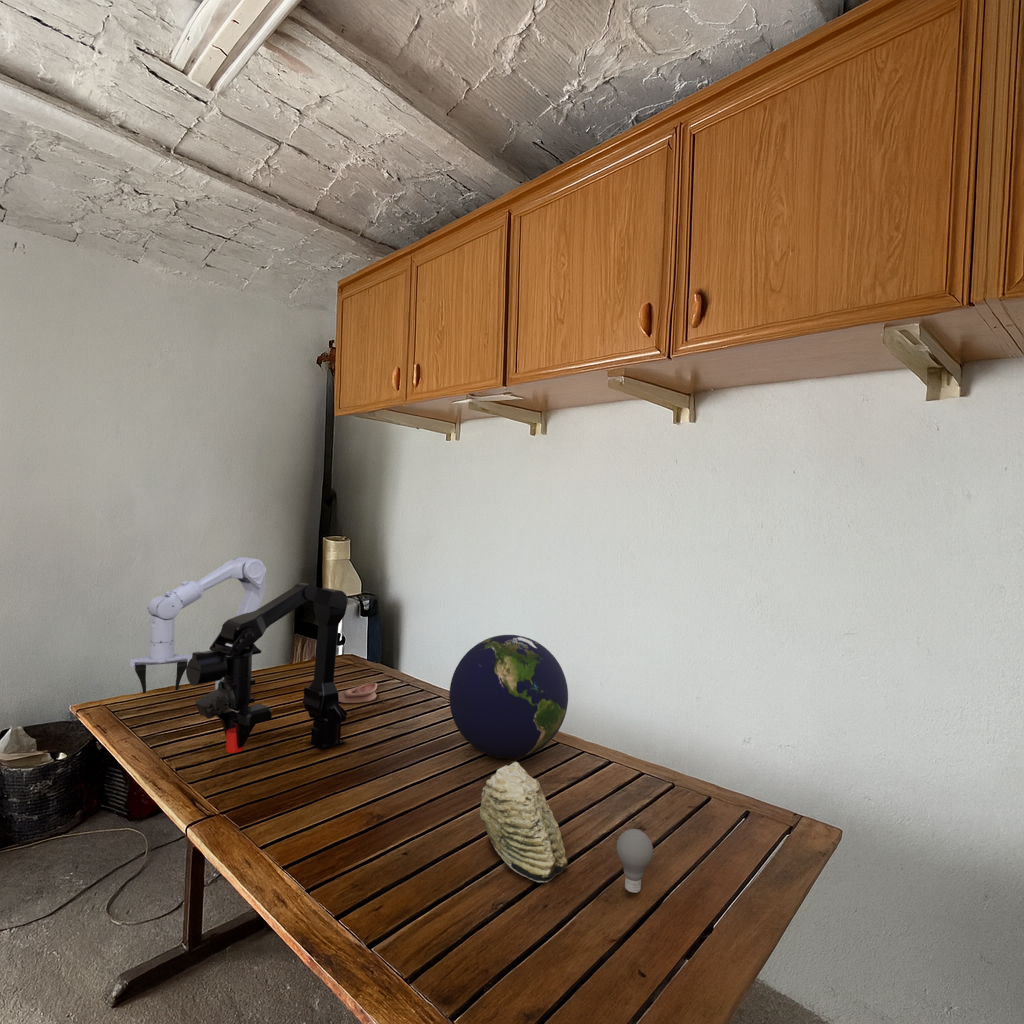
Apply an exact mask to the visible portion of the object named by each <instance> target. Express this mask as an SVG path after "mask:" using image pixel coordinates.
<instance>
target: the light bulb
mask: <svg viewBox="0 0 1024 1024" xmlns="http://www.w3.org/2000/svg"><path fill="white" fill-rule="evenodd" d="M615 849H616V854H617V857H618V859H619V861H620V863H621V865H622V867H623V873H624V874H623V875H624V876H625V878H624V888H625V890H627V891H628V892H630V893H634V894H635V893H639V892H640V891H641V889H642V887H641V886H642V879H643V877H644V875H645V871H646V868H647V867H648V866H649V864H650V863H651V861H652V859H653V855H654V847H653V843H652V841H651V838H649V836H648V835H647V834H646V833H645V832H643V831H642V830H641V829H636V828H629V829H627V830H625V831H623V832H622V833H621V834H620V835H619V837H618V839H617V841H616V847H615Z"/></svg>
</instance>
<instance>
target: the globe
mask: <svg viewBox="0 0 1024 1024" xmlns="http://www.w3.org/2000/svg"><path fill="white" fill-rule="evenodd" d="M449 684H450V685H449V694H448V697H449V700H448V701H449V708H450V712H451V713H450V714H451V716H452V719H453V722H454V724H455V726H456V728H457V730H458V731H459V733H460V735H461V736H462V737H463V738H464V739H465V741H467V743H468V744H470V745H471V746H472V747H473V748H475V749H476V750H477V751H480V752H481V753H483V754H485V755H488V756H491V757H493V758H498V759H507V760H508V759H509V760H511V759H521V758H525V757H527V756H530V755H533V754H534V753H537V752H538V751H540V750H541V749H543V748H544V747H546V746H547V745H548V744H549V743H550V742H551V741H552V740H553V738H555V736H556V735H557V734H558V732H559V731H560V728H561V727H562V725H563V723H564V720H565V719H566V715H567V711H568V705H569V689H568V687H569V686H568V683H567V679H566V674H565V673H564V670H563V668H562V666H561V664H560V663H559V661H558V660H557V658H556V657H555V655H554V654H552V652H551V651H550V650H549V649H548V648H547V647H545V646H544V645H542V644H541V643H539V642H538V641H536V640H534V639H532V638H530V637H526V636H523V635H517V634H501V635H494V636H491V637H488V638H486V639H483V640H482V641H480V642H478V643H476V644H475V645H474V646H473V647H471V648H470V649H469V650H468V651H467V652H466V653H465V654H464V655H463V657H461V659H460V660H459V662H458V663H457V666H456V667H455V669H454V671H453V673H452V678H451V681H450V683H449Z"/></svg>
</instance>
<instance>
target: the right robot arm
mask: <svg viewBox="0 0 1024 1024" xmlns="http://www.w3.org/2000/svg"><path fill="white" fill-rule="evenodd" d="M307 602H309V603H311V604H313V613H314V616H315V618H316V620H317V624H318V626H317V627H318V628H317V639H316V647H315V648H316V649H315V650H316V651H315V662H314V671H313V672H314V673H313V680H312V682H311V683H310V685H309V686H305V687H304V688H303V699H302V704H303V707H304V710H305V711H306V712H307V713H308V716H309V718H310V719H313V721H312V722H313V723H312V727H311V730H310V731H311V732H310V733H311V735H310V739H309V740H308V743H309V744H310V745H313V746H314V747H316V748H318V749H320V750H327V749H329V748H333V747H336V746H340V745H343V744H344V743H345V741H344V740H343V739H341V737H342V735H341V733H342V723H343V722H346V719H347V717H348V712H347V710H345V709H344V708H343V707H342V705H340V702H339V696H338V693H339V691H338V688H337V686H336V683H335V669H336V660H337V659H336V658H337V646H338V635H339V627H340V626H339V625H340V623H341V622H342V620H343V619H344V617H345V615H346V612H347V607H348V603H349V597H348V595H347V594H346V592H344V591H343V590H339V589H333V588H328V587H323V588H322V587H321V588H320V587H318V586H315V585H313V584H311V583H306V582H298V583H296V584H295V585H294V586H293V587H291V588H290V589H288V590H287V591H285V592H283V593H282V594H280V595H278V596H277V597H275V598H274V599H272V600H270V601H269V602H267V603H266V604H264V605H262V606H260V607H259V609H257V610H255V611H253V612H250V613H245V614H241V615H239V616H236V615H235V616H234V617H231V618H228V619H227V620H226V621H225V622H223V624H222V625H221V629H220V632H219V633H218V635H217V636H216V638H215V639H214V640H213V642H212V643H211V645H210V646H209V650H206V651H205V650H204V651H193V652H192V653H191V654H192V659H190V660H189V662H188V663H187V667H186V670H185V674H186V679H187V682H188V683H189V684H190V685H191V686H194V687H195V686H199V685H200V686H201V685H204V684H208V683H213V682H214V683H215V681H218V680H221V679H222V678H223V677H224V680H221V681H219V683H218V689H217V690H215V689H214V690H212V691H210V692H208V693H206V694H205V695H202V696H201V697H200V698H198V699H196V700H195V702H194V703H195V705H196V708H197V711H198V714H199V715H200V716H202V717H204V718H206V719H208V720H209V719H212V718H214V717H216V718H218V719H219V720H220V723H221V725H222V728H223V732H224V736H226V732H227V730H229V729H231V728H236V737H237V746H238V748H241V747H243V746H244V747H245V744H246V742H247V740H248V738H249V736H250V735H251V733H252V731H253V729H254V727H256V725H257V724H260V723H264V722H267V721H270V720H272V718H273V714H272V713H273V709H271V708H270V707H269V706H266V705H264V704H262V703H256V704H254V703H255V701H256V699H255V697H253V696H252V686H253V685H256V679H254V678H252V671H253V670H252V668H253V656H254V655H258V654H260V655H261V654H262V650H261V649H260V648H258V647H257V645H256V644H255V643H256V642H257V641H259V639H261V638H262V637H263V635H264V634H265V632H266V630H267V629H268V628H269V627H270V626H272V625H273V624H275V623H277V622H278V621H279V620H281V619H283V618H284V617H285V616H287V615H288V614H290V613H291V612H293V611H295V610H296V609H298V608H299V607H300V606H302V605H304V604H306V603H307ZM227 643H228V644H231V645H232V647H230V646H227V645H225V644H227ZM250 704H253V705H250Z"/></svg>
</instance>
